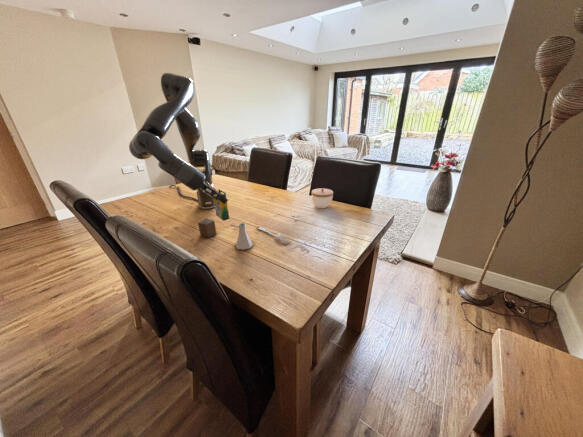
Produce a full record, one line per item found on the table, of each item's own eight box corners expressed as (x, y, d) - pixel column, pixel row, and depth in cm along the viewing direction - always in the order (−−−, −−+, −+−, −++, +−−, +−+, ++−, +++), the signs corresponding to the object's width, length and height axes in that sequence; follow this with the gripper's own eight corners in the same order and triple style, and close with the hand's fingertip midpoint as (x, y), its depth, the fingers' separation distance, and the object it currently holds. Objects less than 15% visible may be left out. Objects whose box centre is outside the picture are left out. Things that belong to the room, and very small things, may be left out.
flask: (236, 241, 103) (234, 221, 99) (253, 240, 104) (251, 220, 99) (234, 250, 97) (231, 229, 92) (252, 249, 97) (250, 228, 93)
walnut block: (200, 236, 108) (197, 222, 105) (208, 231, 112) (206, 218, 109) (208, 238, 106) (205, 224, 103) (216, 233, 110) (214, 220, 107)
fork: (262, 231, 117) (261, 226, 116) (290, 242, 102) (289, 237, 101) (257, 233, 115) (256, 228, 114) (285, 245, 100) (284, 239, 99)
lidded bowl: (308, 208, 137) (308, 190, 132) (314, 201, 147) (315, 184, 143) (329, 211, 132) (330, 192, 128) (334, 203, 143) (335, 186, 138)
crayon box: (215, 215, 102) (211, 190, 97) (222, 213, 104) (218, 188, 99) (222, 221, 97) (219, 194, 92) (229, 219, 99) (226, 192, 94)
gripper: (199, 171, 82) (234, 196, 92) (191, 164, 93) (223, 187, 103) (186, 188, 82) (223, 211, 92) (179, 179, 93) (213, 201, 103)
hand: (223, 199), depth 98 cm, fingers closed on crayon box, 7 cm apart
